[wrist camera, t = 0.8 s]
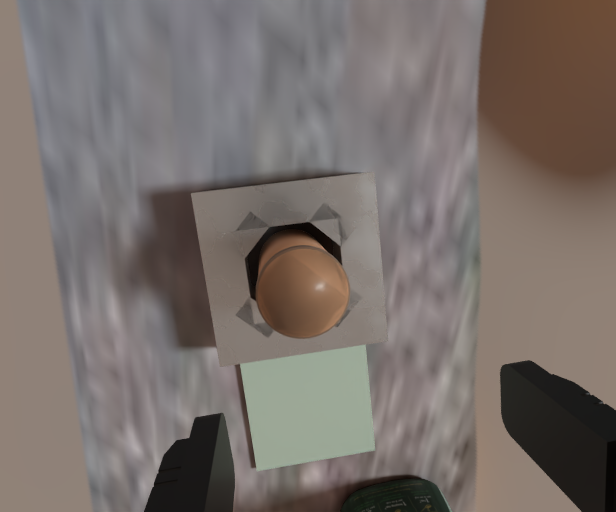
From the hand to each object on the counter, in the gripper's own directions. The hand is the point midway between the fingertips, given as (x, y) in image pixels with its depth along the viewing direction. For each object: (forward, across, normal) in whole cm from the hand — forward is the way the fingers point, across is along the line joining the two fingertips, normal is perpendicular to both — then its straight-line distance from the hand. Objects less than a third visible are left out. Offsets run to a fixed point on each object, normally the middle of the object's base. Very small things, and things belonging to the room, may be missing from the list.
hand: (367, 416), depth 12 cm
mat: (+20, +1, +12) cm, 23 cm away
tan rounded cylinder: (+20, +1, 0) cm, 20 cm away
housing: (+20, +1, 0) cm, 20 cm away
